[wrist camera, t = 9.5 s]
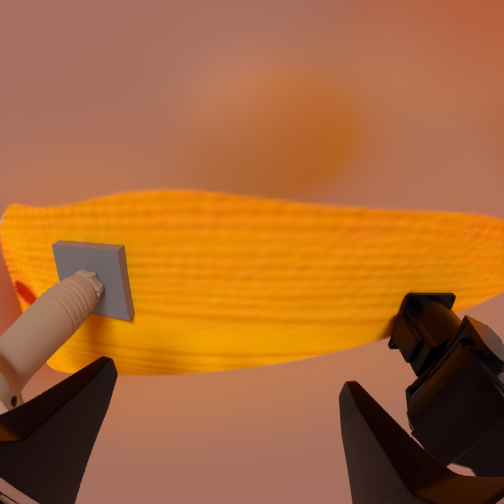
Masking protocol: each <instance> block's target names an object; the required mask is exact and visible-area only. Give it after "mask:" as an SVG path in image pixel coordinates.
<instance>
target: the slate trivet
mask: <svg viewBox="0 0 504 504" xmlns="http://www.w3.org/2000/svg"><path fill="white" fill-rule="evenodd" d="M52 247H53V252H54V257H55V262H56V267H57V271H58V275H59V280H60V281H62V280H64V279H66V278H68V277H70V276H72V275H74V273H76V272H77V271H79V270H82V269H86V270H87V271H89V272H91V271H94V272H95V273H96V274H97V277H98V279H99V281H100V282H101V283H102V284H103V287H104V291H103V293H102V294H101V295H100V298H99V300H98V302H97V303H96V305H95V306H94V308H93V309H92V311H91V313H93V314H98V315H102V316H107V317H112V318H117V319H123V320H128V321H130V320H131V318H132V317H133V315H134V309H133V303H132V298H131V292H130V286H129V279H128V272H127V265H126V257H125V249H124V245H111V244H98V243H85V242H72V241H60V240H59V241H58V242H56V243H54V244H53V245H52Z"/></svg>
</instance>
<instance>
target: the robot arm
mask: <svg viewBox="0 0 504 504" xmlns="http://www.w3.org/2000/svg"><path fill="white" fill-rule="evenodd" d="M411 297H412V299H410V298H411ZM455 298H456V296H455V295H454V294H453V293H409V294H408V295H407V296H406V298H405V301H404V304H403V307H402V310H401V313H400V315H399V317H398V320H397V322H396V325H395V328H394V330H393V333H392V336H391V338H390V341H389V343H388V346H389V348H390V349H399V350H400V351H401V354H402V355H403V357H404V359H405V361H406V362H407V363H410V365H411V367H412V369H413V371H414V372H415V374H416V376H417V377H418V378H417V379H416V380H415V381H414V383H413V384H412V385H411V386H409V387H408V388H407V389H406V390H405V391H406V400H407V410H408V411H407V417H408V421H409V425H410V429H411V430H412V432H411V434H412V435H413V437H415V438H416V439H417V440H418V441H419V442H420V444H421V445H422V446H423V448H424V449H425V450H424V449H423V448H422V447H421V446H420V445H419V444H418V443H417V442H416V441H415V440H414V439H413V438H412V437H410V435H409V434H407V432H406V431H405V430H404V429H403V428H402V427H401V426H400V425H399V424H398V423H397V422H396V421H395V420H394V419H393V418H392V417H391V416H390V415H389V414H388V413H387V412H386V411H385V410H384V409H383V408H382V407H381V406H380V405H379V404H378V403H377V402H376V401H375V400H374V399H373V398H372V397H371V396H370V395H369V394H368V392H366V391H365V389H364V388H362V386H361V385H360V384H359V383H357V381H346V382H345V384H344V386H343V388H342V390H341V393H340V395H339V406H340V419H341V434H342V440H343V445H344V451H345V457H346V463H347V469H348V475H349V481H350V489H351V495H352V503H353V504H504V345H503V342H502V340H501V339H500V337H499V336H498V335H496V333H494V331H492V329H491V328H489V327H488V326H487V325H485V324H483V323H481V322H479V321H477V320H475V319H473V318H471V317H469V316H467V315H465V317H464V318H463V320H462V321H461V320H460V319H459V318H458V317H457V316H456V315H455V313H454V312H453V311H452V310H451V309H452V306H453V304H454V301H455ZM116 379H117V370H116V367H115V364H114V362H113V360H112V358H109V357H105V356H103V357H100V358H99V359H97V360H96V361H94V362H92V363H91V364H89V365H87V366H86V367H84V368H83V369H81V370H79V371H78V372H76V373H74V374H73V375H72V376H70V377H68V378H66V379H65V380H63V381H61V382H60V383H58V384H56V385H55V386H53V387H52V388H50V389H48V390H47V391H45V392H43V393H42V394H41V395H38V396H37V397H35V398H33V399H31V400H30V401H28V402H26V403H24V404H22V405H20V406H18V407H16V408H14V409H11V410H9V411H7V412H5V413H3V414H0V504H75V501H76V497H77V494H78V491H79V488H80V483H81V481H82V477H83V475H84V472H85V468H86V465H87V463H88V460H89V457H90V454H91V451H92V448H93V446H94V443H95V441H96V438H97V435H98V432H99V430H100V427H101V425H102V422H103V420H104V417H105V415H106V412H107V410H108V406H109V404H110V400H111V397H112V393H113V390H114V386H115V383H116ZM450 464H455V465H459V466H462V467H465V468H469V469H471V471H472V472H473V473H474V475H475V476H464V475H459V474H457V473H455V472H453V471H451V470H450V469H448V468H447V466H448V465H450Z"/></svg>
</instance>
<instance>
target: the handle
mask: <svg viewBox="0 0 504 504" xmlns="http://www.w3.org/2000/svg"><path fill="white" fill-rule="evenodd" d="M103 291H104V287H103V284H102V283H101V282H100V281H99V279H98V277H97V274H96V273H95V272H94V271H91V272H89V271H87V270H86V269H82V270H79V271H77V272H76V273H74V275H72V276H70V277H68V278H66V279H64V280H62V281H60V282H59V283H57V284H56V285H54V286H53V287H51V288H50V289H49V290H47V291H46V292H45V293H44V294H42V295H41V296H40V297H39V298H38V299H37V300H36V301H35V302H34V303H33V304H32V305H31V306H30V307H29V308H28V309H27V310H26V311H25V312H24V313H23V314H22V315H21V316H20V317H19V318H18V319H17V320H16V321H15V322H14V323H13V324H12V326H10V327H9V329H8V330H7V331H6V332H5V333H4V334H3V335H2V336H1V337H0V414H3V413H5V412H7V411H9V410H11V409H14V408H16V407H18V406H20V405H22V404H24V401H23V398H22V395H21V391H22V389H23V388H24V386H25V385H26V384H27V382H28V381H29V379H30V378H31V377H32V376H33V375H34V374H35V373H36V372H37V371H38V370H39V369H40V368H41V367H42V365H43V364H44V363H45V362H46V361H47V360H48V359H49V358H50V357H51V356H52V355H53V354H54V353H55V352H56V351H57V350H58V349H59V348H60V347H61V346H62V345H63V344H64V343H65V342H66V341H67V340H68V339H69V338H70V337H71V336H72V335H73V334H74V333H75V332H76V330H77V329H78V328H79V327H80V326H81V325H82V323H83V322H84V321H85V319H86V318H87V317H88V315H89V314H90V313H91V311H92V309H93V308H94V306H95V305H96V303H97V302H98V300H99V298H100V295H101V294H102V293H103Z"/></svg>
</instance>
